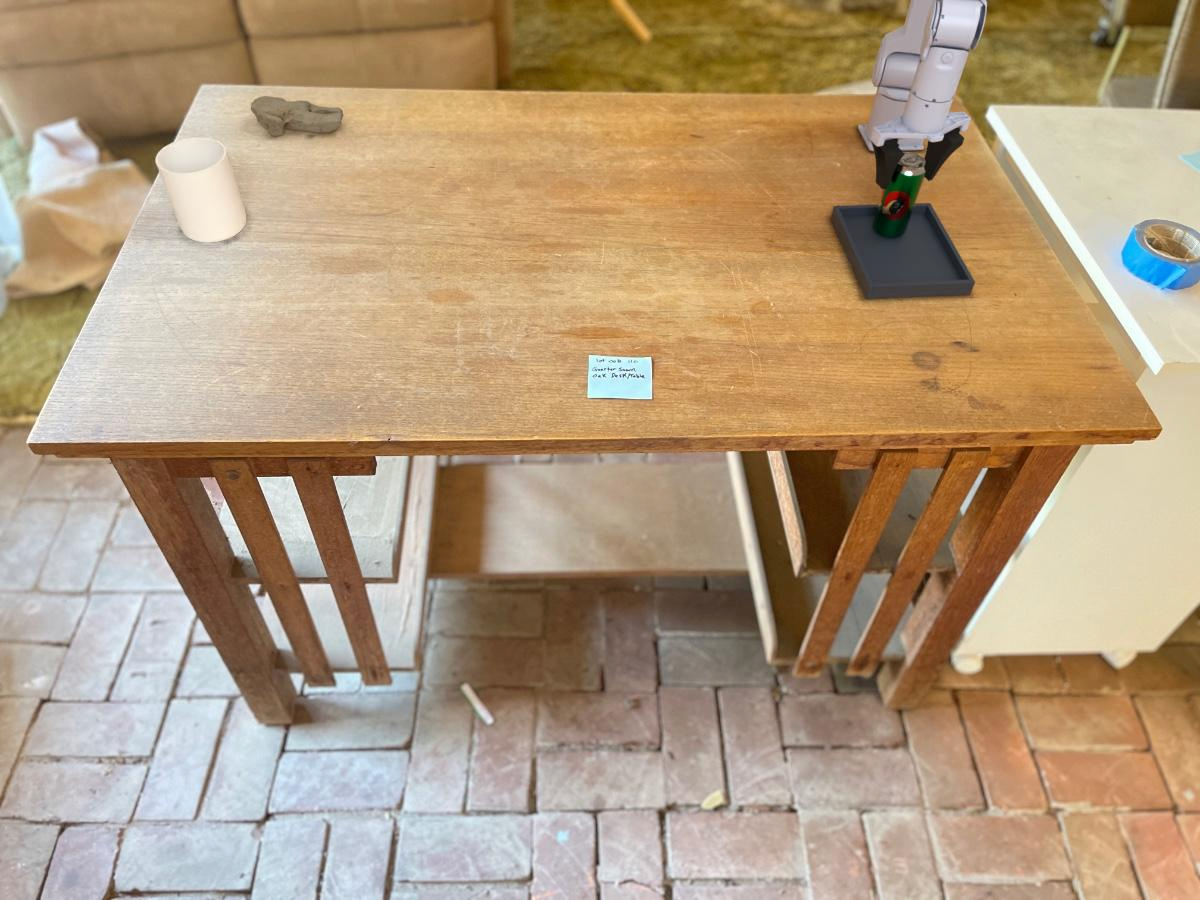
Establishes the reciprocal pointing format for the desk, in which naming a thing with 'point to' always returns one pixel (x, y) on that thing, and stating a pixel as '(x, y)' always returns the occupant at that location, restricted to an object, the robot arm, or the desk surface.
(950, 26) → the robot arm
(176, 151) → the mug
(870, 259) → the dark grey tray
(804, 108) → the desk surface
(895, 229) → the soda can
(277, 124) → the sculpture
